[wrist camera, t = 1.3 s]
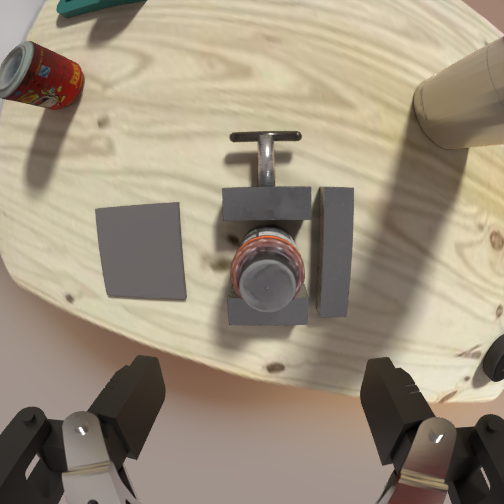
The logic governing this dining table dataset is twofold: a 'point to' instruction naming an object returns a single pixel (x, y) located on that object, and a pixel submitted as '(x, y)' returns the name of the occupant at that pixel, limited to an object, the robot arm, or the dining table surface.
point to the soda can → (40, 77)
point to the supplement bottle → (267, 269)
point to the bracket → (87, 6)
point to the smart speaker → (495, 361)
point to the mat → (142, 250)
